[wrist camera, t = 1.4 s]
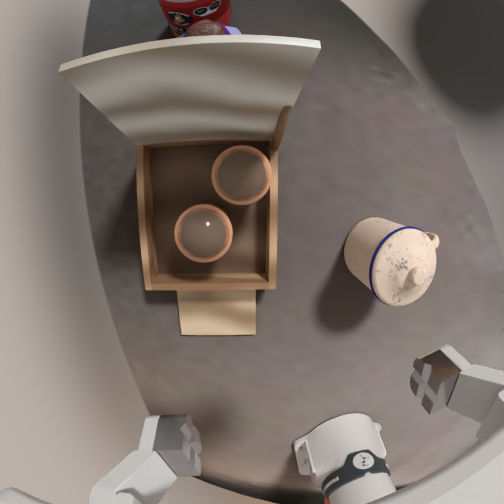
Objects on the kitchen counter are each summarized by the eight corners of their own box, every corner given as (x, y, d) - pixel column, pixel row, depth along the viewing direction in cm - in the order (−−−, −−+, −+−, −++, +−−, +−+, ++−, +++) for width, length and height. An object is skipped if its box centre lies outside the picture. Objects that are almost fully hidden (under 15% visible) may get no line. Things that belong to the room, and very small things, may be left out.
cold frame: (271, 276, 36) (308, 378, 17) (154, 278, 35) (89, 373, 16) (272, 113, 30) (320, 40, 12) (147, 117, 30) (60, 63, 11)
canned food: (161, 38, 27) (137, -5, 16) (188, -4, 25) (177, -51, 14) (214, 51, 28) (208, 5, 17) (240, 8, 26) (243, -41, 16)
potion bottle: (245, 44, 28) (250, -8, 16) (254, 104, 30) (264, 67, 19) (176, 54, 28) (152, 7, 16) (181, 114, 30) (155, 84, 18)
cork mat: (255, 332, 38) (255, 334, 37) (182, 332, 37) (181, 334, 36) (255, 284, 36) (255, 286, 35) (177, 285, 35) (176, 287, 35)
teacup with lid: (350, 290, 37) (390, 332, 26) (332, 229, 35) (374, 254, 23) (418, 257, 37) (469, 284, 25) (406, 198, 34) (462, 210, 23)
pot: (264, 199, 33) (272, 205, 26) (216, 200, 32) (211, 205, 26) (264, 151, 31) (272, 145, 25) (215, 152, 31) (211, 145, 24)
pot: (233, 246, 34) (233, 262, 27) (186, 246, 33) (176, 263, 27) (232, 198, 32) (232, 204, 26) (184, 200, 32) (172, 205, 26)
